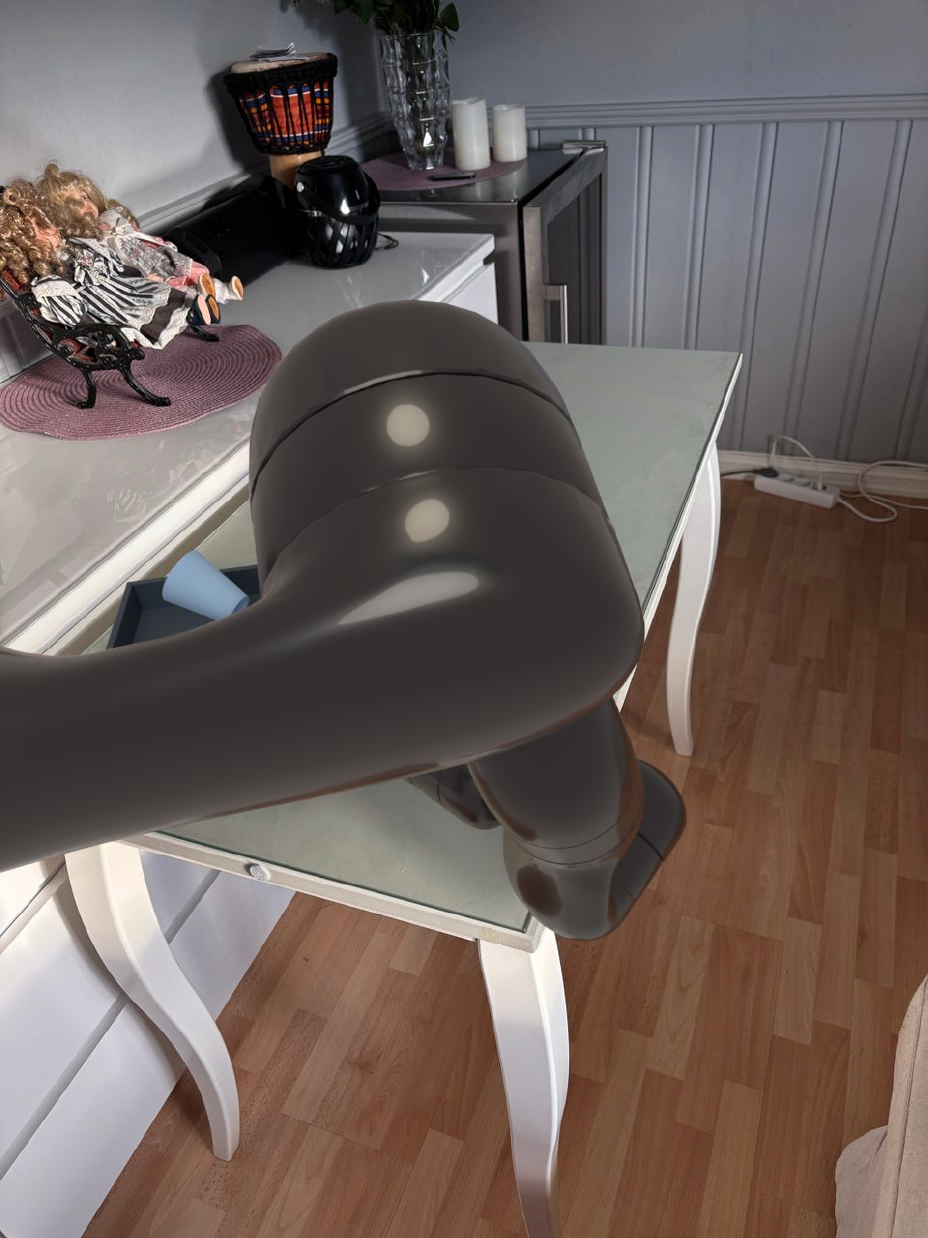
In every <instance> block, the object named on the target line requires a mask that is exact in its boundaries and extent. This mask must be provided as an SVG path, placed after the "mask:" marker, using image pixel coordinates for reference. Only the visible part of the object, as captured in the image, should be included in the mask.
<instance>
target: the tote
mask: <svg viewBox="0 0 928 1238" xmlns="http://www.w3.org/2000/svg"><path fill="white" fill-rule="evenodd" d="M218 570H219V571H220V572H222V573H223V574H224V575H225V576H226V577H227V578H228V579H229V580H230V581H232V582H233V583H234V584H235V585H236V586H237V587H238V588H239V589H240V590H242V591H243V592H244V593H245V594H246V595H247V596H248V597H249V603H248V606H247V607H249V606H251V605H253V604H254V603H256V602H258V601H259V600H261V595H260V585H259V575H258V566H257V563H255V564H249V565H242V566H235V567H227V568H219V569H218ZM167 577H168V576H163V577H154V578H148V579H141V580H133V581H127V582H126V584H125V586H124V590H123V593H122V596H121V600H120V603H119V605H118V606H119V607H118V610H117V613H116V616H115V619H114V622H113V626H112V628H111V632H110V635H109V639H108V642H107V644H106V648H105V650H108V649H112V648H117V647H122V646H127V645H132V644H137V643H141V642H146V641H151V640H156V639H161V638H164V637H167V636H171V635H174V634H178V633H181V632H185V631H188V630H192V629H195V628H197V627H200V626H203V625H206V624H208V623H211V622H214V621H216V620H214V619H211V618H208V617H206V616H203V615H201V614H198V613H196V612H193V611H191V610H188V609H185V608H183V607H180V606H178V605H175V604H173V603H170V602H168V601H165V600H164V599H163V596H162V592H163V587H164V584H165V582H166V579H167Z"/></svg>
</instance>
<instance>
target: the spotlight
mask: <svg viewBox="0 0 928 1238" xmlns="http://www.w3.org/2000/svg"><path fill="white" fill-rule="evenodd" d="M166 577H167V579H166V582H165V584H164V587H163V592H162V596H163V599H164V600H165V601H168V602H170V603H173V604H175V605H178V606H180V607H183V608H185V609H188V610H191V611H193V612H196V613H198V614H201V615H203V616H206V617H208V618H211V619H214V620H216V621H217V620H219V619H222V618H225V617H227V616H229V615H231V614H234V613H236V612H238V611H240V610H242V609H244V608H247V606H248V603H249V597H248V596H247V595H246V594H245V593H244V592H243V591H242V590H240V589H239V588H238V587H237V586H236V585H235V584H234V583H233V582H232V581H230V580H229V579H228V578H227V577H226V576H225V575H224V574H223V573H222V572H220V571H219V569H218V568H217V567H216V566H215V565H214V564H213V563H211V562H210V560H208V559H207V557H205V556H204V555H203V554H202V553H201V552H199V551H198V550H196V549H195V550H194V549H193V550H191V551H189V552H187V553H186V554H184V555H183V556H182V557H181V558H180V559H179V560H178V561H177V562H176V564H175V565H174V566H173V567H172V569H171V571H170V572H169V573H168V575H167V576H166Z"/></svg>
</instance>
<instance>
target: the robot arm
mask: <svg viewBox="0 0 928 1238" xmlns="http://www.w3.org/2000/svg"><path fill="white" fill-rule="evenodd" d="M248 449H249V451H248V498H249V509H250V518H251V522H252V527H253V536H254V537H253V538H254V545H255V546H254V548H255V556H256V564H257V566H258V575H259V585H260V595H261V600H259V601H258V602H256V603H254V604H253V605H251V606H249V607H247V608H244V609H242V610H240V611H238V612H236V613H234V614H231V615H229V616H227V617H225V618H222V619H219V620H217V621H214V622H211V623H208V624H206V625H203V626H200V627H197V628H195V629H192V630H188V631H185V632H181V633H178V634H174V635H171V636H167V637H164V638H161V639H156V640H151V641H146V642H141V643H137V644H132V645H127V646H122V647H117V648H112V649H108V650H106V649H103V650H98V651H93V652H89V653H84V654H72V655H71V654H70V655H49V654H41V653H34V652H28V651H22V650H18V649H14V648H10V647H6V646H2V645H0V874H1V873H5V872H9V871H12V870H14V869H18V868H22V867H25V866H29V865H31V864H34V863H38V862H42V861H45V860H49V859H53V858H56V857H59V856H63V855H66V854H71V853H75V852H78V851H81V850H85V849H89V848H92V847H97V846H100V845H104V844H108V843H112V842H116V841H120V840H125V839H128V838H132V837H136V836H140V835H144V834H149V833H153V832H158V831H163V830H167V829H172V828H176V827H181V826H186V825H190V824H191V825H192V824H195V823H200V822H204V821H209V820H213V819H219V818H223V817H228V816H233V815H237V814H242V813H247V812H251V811H256V810H262V809H266V808H271V807H276V806H280V805H285V804H291V803H296V802H300V801H304V800H311V799H314V798H320V797H325V796H329V795H334V794H335V795H336V794H338V793H344V792H348V791H353V790H359V789H363V788H369V787H373V786H378V785H382V784H383V785H384V784H386V783H390V782H396V781H400V780H402V781H405V782H406V783H408V784H410V785H412V786H413V787H415V788H417V790H419V791H420V792H421V793H423V794H424V795H426V796H427V797H429V798H430V799H431V800H433V801H434V802H435V803H437V805H439V806H441V807H442V808H443V809H445V810H446V811H448V812H449V813H450V814H451V815H453V817H455V818H457V819H458V820H459V821H461V822H462V823H464V824H466V825H468V826H470V827H471V828H473V829H477V830H480V831H489V830H492V829H496V828H499V827H502V855H503V864H504V868H505V871H506V875H507V877H508V879H509V882H510V885H511V887H512V888H513V890H514V892H515V894H516V896H517V897H518V899H519V901H520V902H521V903H522V905H523V906H524V907H525V909H526V910H527V911H528V912H529V913H530V914H531V915H532V916H533V917H534V918H535V919H536V920H537V921H538V922H539V923H540V924H542V925H543V926H544V927H546V929H548V930H550V931H552V932H553V933H555V934H556V935H559V936H561V937H563V938H566V939H569V940H573V941H576V942H593V941H598V940H601V939H604V938H605V937H607V936H609V935H610V934H612V933H614V932H615V931H616V930H617V929H618V928H619V927H620V926H621V925H622V924H623V922H624V921H625V920H626V919H627V917H628V916H629V915H630V913H631V911H632V910H633V908H634V907H635V905H636V903H637V902H638V901H639V899H640V898H641V896H642V895H643V894H644V892H645V890H646V889H647V887H648V886H649V885H650V883H652V881H653V879H654V878H655V876H656V875H657V873H658V872H659V870H660V869H661V868H662V866H663V863H665V862H666V860H667V859H668V858H669V856H670V855H671V854H672V853H673V850H674V849H675V847H676V846H677V845H678V843H679V842H680V840H681V838H682V836H683V834H684V832H685V830H686V828H687V823H688V813H687V808H686V804H685V802H684V799H683V796H682V794H681V792H680V791H679V789H678V787H677V786H676V785H675V783H674V782H673V781H672V780H671V778H670V777H669V776H667V775H666V774H665V772H663V771H662V770H661V769H659V768H658V767H656V766H655V765H654V764H652V763H650V762H649V761H647V760H646V759H643V758H641V757H639V756H637V755H636V754H637V753H636V751H635V748H634V745H633V742H632V738H631V737H630V733H629V731H628V729H627V726H626V724H625V723H626V722H624V719H623V717H622V715H621V714H622V713H621V712H620V710H619V707H618V705H617V702H616V701H615V698H614V695H615V694H617V692H618V691H619V690H621V688H622V687H623V686H624V685H625V684H626V683H627V681H628V680H629V678H630V676H631V675H632V673H633V672H634V670H635V668H636V667H637V665H638V664H639V662H640V661H641V660H640V659H641V657H642V654H643V651H644V647H645V640H646V639H645V638H646V637H645V636H646V623H645V618H644V613H643V609H642V605H641V600H640V597H639V594H638V591H637V588H636V586H635V584H634V580H633V577H632V575H631V572H630V570H629V566H628V564H627V561H626V558H625V555H624V553H623V550H622V548H621V545H620V542H619V539H618V537H617V533H616V530H615V529H616V528H615V527H614V525H613V524H612V522H611V519H610V516H609V515H608V512H607V508H606V506H605V503H604V501H603V498H602V495H601V493H600V490H599V487H598V485H597V482H596V479H595V478H594V475H593V472H592V469H591V467H590V464H589V461H588V458H587V456H586V453H585V451H584V449H583V445H582V441H581V439H580V436H579V433H578V431H577V428H576V426H575V424H574V421H573V419H572V416H571V414H570V412H569V409H568V407H567V405H566V403H565V400H564V398H563V396H562V394H561V392H560V390H559V388H558V387H557V385H556V384H555V383H554V381H553V380H552V378H551V376H550V375H549V374H548V373H547V371H546V370H545V369H544V367H543V365H541V363H540V362H539V361H538V359H537V358H536V356H535V355H534V354H533V353H532V351H531V350H530V349H529V348H528V347H526V345H524V344H523V343H522V342H521V341H520V340H519V339H518V338H516V337H515V335H513V334H512V333H510V332H509V331H508V330H507V329H506V328H504V327H503V326H501V325H499V324H498V323H496V322H495V321H492V320H490V319H489V318H487V317H486V316H483V315H482V314H480V313H478V312H476V311H473V310H470V309H467V308H463V307H460V306H457V305H454V304H450V303H447V302H441V301H432V300H421V299H404V300H394V301H383V302H377V303H374V304H371V305H366V306H362V307H360V308H356V309H352V310H348V311H345V312H343V313H341V314H339V315H337V316H334V317H333V318H331V319H329V320H327V321H325V322H324V323H321V324H320V325H318V326H317V327H315V328H314V329H313V330H312V331H310V332H309V333H307V334H306V335H305V336H304V337H302V338H301V339H300V340H298V341H297V342H296V343H295V344H293V345H292V347H291V348H290V349H289V350H288V352H287V353H286V354H285V355H284V356H283V357H282V359H281V360H279V362H278V363H277V364H276V365H275V367H274V369H273V370H272V372H271V374H270V376H269V377H268V380H267V382H266V384H265V386H264V387H263V390H262V391H261V393H260V395H259V397H258V401H257V406H256V410H255V413H254V418H253V421H252V425H251V429H250V437H249V447H248Z"/></svg>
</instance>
